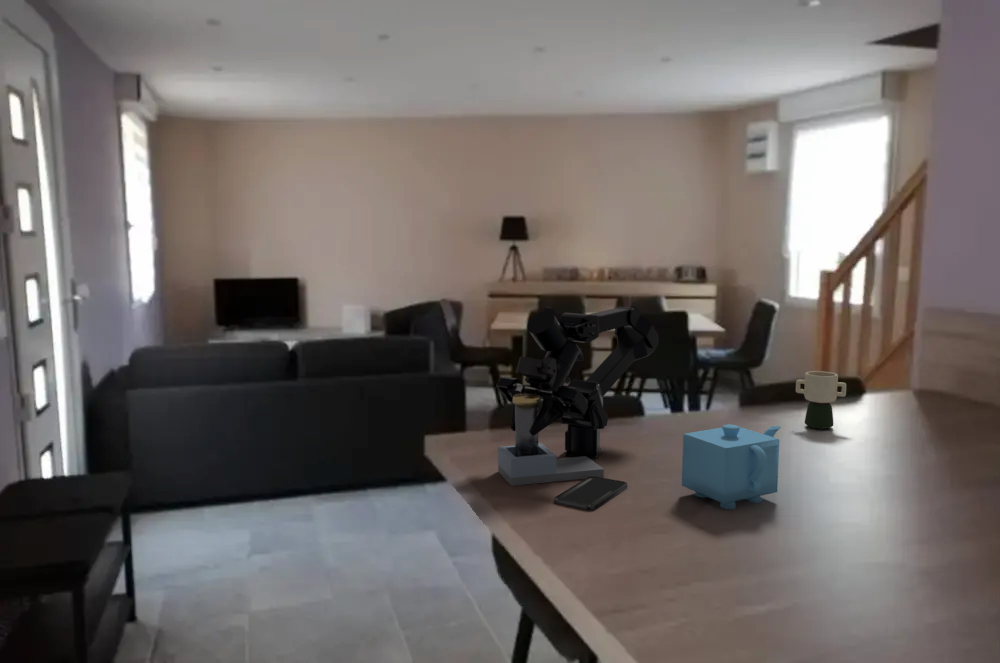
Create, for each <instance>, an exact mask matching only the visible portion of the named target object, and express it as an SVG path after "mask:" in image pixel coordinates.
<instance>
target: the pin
mask: <svg viewBox="0 0 1000 663" xmlns="http://www.w3.org/2000/svg"><path fill="white" fill-rule="evenodd" d="M513 404H515V431H514V434H515V435H514V438H515V439H514V440H515V441H514V442H515V444H514V445H515V457H522V456H533V455H538V443H539V433H537V434H536V435H532V434H531V429H532V427H533V424H534V422H535V420H536V418H537V416H538V414H539V404H541V399H540V395H538V394H531V393H522V394H516V395H513V403H512V405H513Z"/></svg>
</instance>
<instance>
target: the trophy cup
mask: <svg viewBox="0 0 1000 663" xmlns="http://www.w3.org/2000/svg"><path fill="white" fill-rule="evenodd" d="M838 376H839V375H838V373H835V372H831V371H822V370H813V371H806V372H805V374H804V379H796V381H795V392H796V393H797V394H803V396H804V399H805V400H806V401H809V403H808V404H807V408H806V412H805V416H804V424H805V425H806V426H807V427H811V428H814V429H829V428H832V427H834V416H833V413H834V412H833V406H832V404H831V403H834V402H836V400H837V397H843V398H844V397H846V395H847V383H846V382H843V381H842V382H841V381H840V382H839V377H838ZM801 384H803V385H804V389H803V388H801ZM838 387H840V388H841V391H840V392H839V391H838Z"/></svg>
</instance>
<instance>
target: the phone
mask: <svg viewBox="0 0 1000 663" xmlns="http://www.w3.org/2000/svg"><path fill="white" fill-rule="evenodd" d="M626 489H628V482H626V481H623V480H618V479H611V478H608V477H607V478H605V477H597V476H590V477H588V478H584V479H582V480H581V481H580V482H578V483H576V484H574V485H573V486H571V487H569V488H568V489H566V490H564V491H563V492H561V493H560V494H558V495H556V496H554V497H553V498H554V499H553V500H554V504H556V505H561V506H565V507H568V508H574V509H578V510H583V511H587V512H591V511H593V512H594V511H596V510H597V509H599V508H601V506H603V505H605V504H606V503H608V502H609V501H610V500H613V498H615V497H617V495H619V494H621V493H622V492H623V491H624V492H625V490H626Z"/></svg>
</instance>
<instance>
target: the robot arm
mask: <svg viewBox="0 0 1000 663" xmlns="http://www.w3.org/2000/svg"><path fill="white" fill-rule="evenodd" d="M526 329H527V331H528V332H529V333H530V335H531V336H532V338H533V339H534V341H535V343H537V345H538V346H539V347H540V349H541V350H542V351H544V352H546V354H545V356H544V357H543V359H540V358H539V359H538V358H534V357H526V356H519V360H518V363H517V366H516V371H515V373H516V374H518V375H519V374H520V375H522V376H524V377H525V378H524V381H525V382H526V383H527V384H529V386H526V385H524V384H523V383H522V382H521V381H520V379H519V378H516V377H511V376H502V377H500V378H499V380H498V381H497V383H496V385H495V387H496V389H497V390H498V391H499V392H500V393H501V394H502V396H503V398H505V399H506V401H508V402H509V403H511V404H512V414H511V421H510V422H511V424H510V430H512V432H515V404H513V395H516V394H522V393H531V394H538V395H540V401H542V405H541V408H540V410H539V411H538V416H537V418H536V420H535V422H534V424H533V427H532V429H531V434H532V435H536V434H537V433H538V434H539V433H540V432H541V431H542V430H544V429H545V428H547V427H548V426H549V425H551V424H552V423H554V422H556V421H557V420H559V419H560V424H562V425H567V430H566V431H564V450H565V453H564V454H565V457H581V456H587V457H588V458H589V459H597V457H598V456H599V454H601V452H602V450H603V449H602V447H601V444H600V443H601V430H604V429H605V427H607V425H608V421H609V415H608V413H607V412H606V411H605V409H604V397H605V395H606V394H607V393H608V392H609V390H610V389H611V388H612V387H613V386H614V385H615V383H617V381H619V379H620V378H621V377H622V376H623V375H624V373H625V372H626V371H627V370H628V369H629V368H630V367H631V365H632V364H633V363H634V362H635V361H638V360H641V359H643V358H646V357H648V356H650V355H651V354H652V353H653V352H655V350H656V349H657V347H658V346H659V343H660V342H659V341H660V336H659V333H658V332H657V331H656V328H655V327H654V325H653V324H652V323H651V322H650V321H649V320H647V319H646V318H644V317H643V316H642V315H641V314H640V312H639V311H638V310H637V308H634V307H630V306H629V307H628V306H617V307H614V308H610V309H606V310H602V311H598V312H593V313H588V314H587V313H586V314H585V313H576V312H575V313H574V312H563V313H562V314H561V315H560V316H559V315H558V313H557V311H556V309H555V307H548V306H547V307H545V308H544V309H543V311H541V312H537V314H535V315H533V316H532V317H531V318H529V320H528V322H527V326H526ZM611 330H614V332H613V334H614V335H615V338H616V341H617V342H616V343H617V344H616V347H615V348H614V349H613V350H612V352H610V354H608V356H607V357H606V358H605V359H604V360H603V361H602V362H601V364H599V366H598V367H596V369H595V370H594V371H593V372H592V373H591V374H590V376H588V377H587V379H586V380H580V379H572V380H571V378H570V377H569V375H570V372H571V370H572V369H573V366H574V365H575V362H576V361H577V362H583V361H584V359H585V358H584V354H583V352H582V347H579V346H578V345H577V343H576V342H578V343H584V344H585V343H586V344H589V343H591V342H592V341H595V340H596V339H598V338H599V336H600V334H601V333H604V332H608V331H611ZM564 384H568V385H564Z"/></svg>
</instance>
